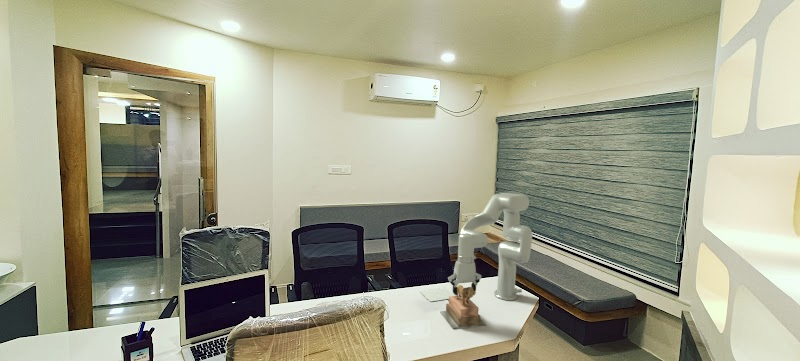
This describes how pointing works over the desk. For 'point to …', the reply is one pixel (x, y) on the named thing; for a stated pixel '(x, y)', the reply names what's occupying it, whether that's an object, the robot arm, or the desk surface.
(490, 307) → the desk surface
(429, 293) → the paper stack
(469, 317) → the block tower
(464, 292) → the lion figurine
